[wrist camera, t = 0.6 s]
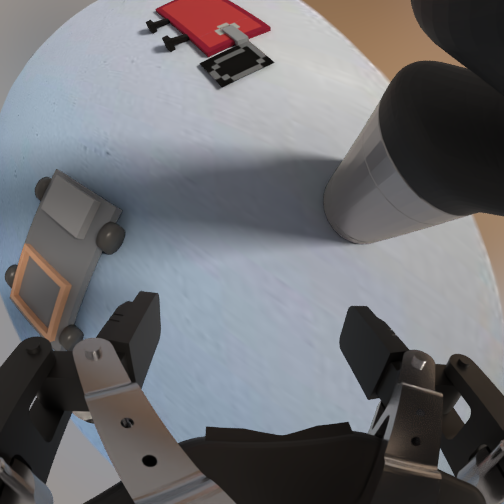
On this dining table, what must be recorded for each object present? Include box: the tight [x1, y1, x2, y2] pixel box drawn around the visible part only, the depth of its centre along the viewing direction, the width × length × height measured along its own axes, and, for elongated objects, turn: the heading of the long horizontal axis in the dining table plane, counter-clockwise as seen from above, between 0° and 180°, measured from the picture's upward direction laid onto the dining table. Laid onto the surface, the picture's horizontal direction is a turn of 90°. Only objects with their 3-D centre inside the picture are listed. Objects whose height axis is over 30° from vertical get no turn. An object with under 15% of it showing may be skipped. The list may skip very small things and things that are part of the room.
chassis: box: [5, 169, 125, 351], centre depth 29 cm, size 22×17×4 cm
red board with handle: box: [146, 0, 275, 87], centre depth 32 cm, size 30×3×15 cm
